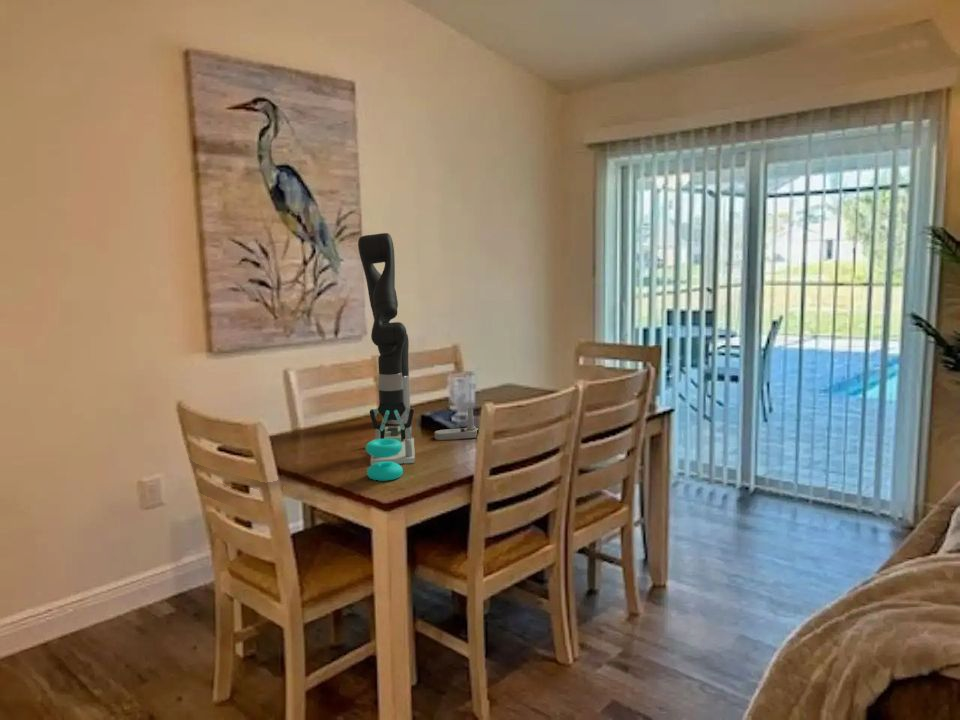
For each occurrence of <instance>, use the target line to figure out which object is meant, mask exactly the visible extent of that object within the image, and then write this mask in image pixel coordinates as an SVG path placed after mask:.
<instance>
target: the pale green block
mask: <svg viewBox="0 0 960 720" xmlns="http://www.w3.org/2000/svg"><path fill="white" fill-rule="evenodd" d="M384 429H385V434H384V439H395V440H398V441H400V442H401V427H400V425H388V426H385V427H384Z"/></svg>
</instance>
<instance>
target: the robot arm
mask: <svg viewBox="0 0 960 720" xmlns="http://www.w3.org/2000/svg"><path fill="white" fill-rule="evenodd" d="M357 246H358V249H357V250H358V253H359V257H360V261H361V265H362V268H363V272H364V275H365V280H366V281H365V282H366V286H367V293H368V298H369V303H370V307H371V313H372V316H373V324H372V328H371V335H370V336H371V341H372V343H373V344H374V345H375V346H377V350H378V353H379V356H378V359H377V361H378V379H377V382H378V385H377V387H378V388H377V389H378V400H379V401H378V408H374V409H373V408H370V410H369V415H370V418H371V422H372V425H373V429H374V430H375V429H378V430H380V438H381V439H384V434H385V427H386V424H388V425H398V426H400V427H401V442H402V441H403V440H405V429H406V428H409V427H411V428H412V423H413V422H412V421H413V418H414V417H413V416H414V413H415V408H414V407H413V406H411V403H410V402H411V399H410V398H411V397H410V396H411V395H410V375H409V373H410V372H409V370H410V369H409V342H410V341H409V335H408V333H407V328H406V326H405V325H404V323H403V322H400V321H399V322H398V321H395V322H394V321H393V322H390V321H391V320H394V319H395V318H396V317H397V316H398V306H399V302H398V301H399V300H398V296H397V292H396V287H395V286H396V285H395V284H396V282H395V280H396V278H395V276H396V269H395V267H396V266H395V265H396V263H395V262H396V261H395V247H394V241H393V238H392V236H391V234H390V233H387V232H384V233H383V232H382V233H375V234H367V235H362V236H360V237H359V238H358V243H357ZM381 263H384V268H383V271H382V273H380V272H379V271H378V270H377V268H376V266H375V264H381ZM378 413H379V414H380V416H381V417H382V420H381V423H380V424H379V423H378V419H377V416H378Z"/></svg>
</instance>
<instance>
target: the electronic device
mask: <svg viewBox="0 0 960 720" xmlns="http://www.w3.org/2000/svg"><path fill="white" fill-rule="evenodd" d="M474 422H475V418H474V409H473V408H472V407H470V408H468V407H467V427H465V428H464V427H463V428H462V427H461V428H451V429H450V428H449V429H440V430H436V431H434V439H435V440H437V441H445V440H446V441H448V440H449V441H450V440H451V441H452V440H462V439H463V440H465V439H474V438H475V439H476V438H477V437H476V435H477V430H478V429H479V428H478V427H476V426H475V423H474Z"/></svg>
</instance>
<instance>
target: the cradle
mask: <svg viewBox="0 0 960 720" xmlns="http://www.w3.org/2000/svg"><path fill="white" fill-rule="evenodd" d="M374 430H375V431H374V432H375V433H374V434H375V439H374V440H377V439H381V438H380V430H378V429H374ZM401 444H402V449H401V451H400V452H399V453H398V454H396V455H393V456H390V457H375V456H372V455H370V466H371V465H373V464H375V463H378V462H395V463H397V464H399V465H400V464H403V463H404V464H415V463H416V454H415V452H416V451H415V438H414V437H412V426H411V427H409V428H406V429H405V440H403V441H402V442H401Z"/></svg>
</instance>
